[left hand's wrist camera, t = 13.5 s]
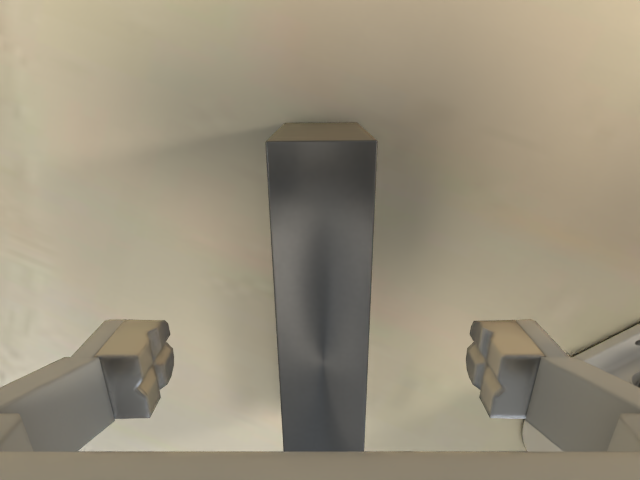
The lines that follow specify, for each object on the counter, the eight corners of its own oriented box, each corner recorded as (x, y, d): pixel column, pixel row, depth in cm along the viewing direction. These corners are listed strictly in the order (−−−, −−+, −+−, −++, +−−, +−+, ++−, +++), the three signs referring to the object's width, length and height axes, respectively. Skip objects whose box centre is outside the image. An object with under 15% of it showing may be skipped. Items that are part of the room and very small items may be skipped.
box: (284, 122, 30) (265, 141, 20) (357, 122, 30) (378, 140, 20) (295, 398, 40) (286, 509, 30) (350, 398, 40) (361, 508, 30)
